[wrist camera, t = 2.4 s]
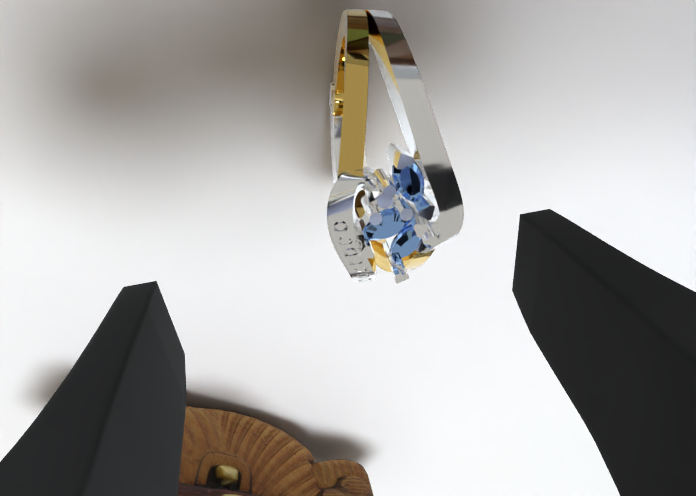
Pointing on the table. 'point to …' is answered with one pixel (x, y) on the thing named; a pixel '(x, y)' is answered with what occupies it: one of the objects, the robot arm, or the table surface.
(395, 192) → the ring
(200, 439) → the wooden carving
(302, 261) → the table surface
